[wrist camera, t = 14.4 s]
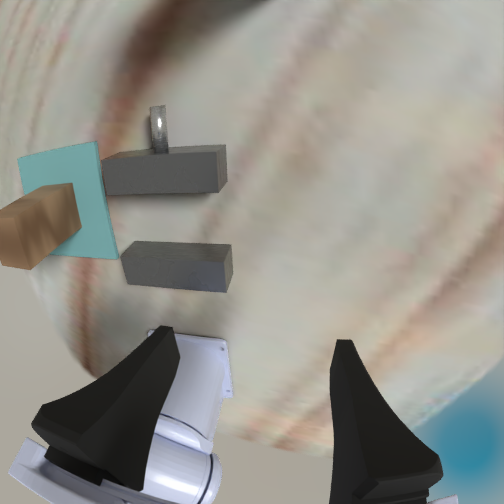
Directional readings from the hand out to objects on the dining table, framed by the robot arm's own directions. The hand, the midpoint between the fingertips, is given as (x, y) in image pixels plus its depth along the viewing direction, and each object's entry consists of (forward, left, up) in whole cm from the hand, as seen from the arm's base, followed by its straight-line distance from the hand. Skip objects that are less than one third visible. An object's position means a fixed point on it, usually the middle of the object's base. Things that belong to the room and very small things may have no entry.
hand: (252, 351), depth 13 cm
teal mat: (+3, +18, -10) cm, 21 cm away
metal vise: (+4, +7, -10) cm, 13 cm away
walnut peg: (+3, +18, -10) cm, 21 cm away
